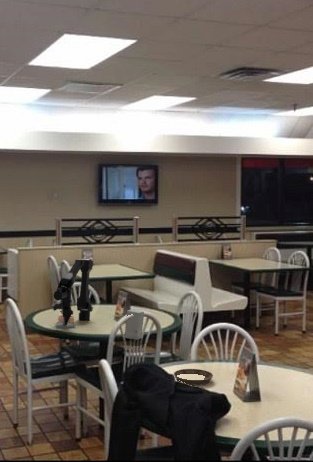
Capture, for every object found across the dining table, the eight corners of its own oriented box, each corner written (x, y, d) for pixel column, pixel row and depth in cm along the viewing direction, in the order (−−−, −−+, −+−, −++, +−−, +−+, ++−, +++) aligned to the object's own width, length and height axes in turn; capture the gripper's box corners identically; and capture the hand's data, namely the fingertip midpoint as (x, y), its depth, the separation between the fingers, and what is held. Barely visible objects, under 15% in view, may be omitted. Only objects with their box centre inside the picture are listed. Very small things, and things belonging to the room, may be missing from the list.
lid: (73, 324, 386) (73, 315, 386) (76, 328, 375) (76, 319, 375) (54, 324, 383) (54, 315, 382) (56, 328, 372) (57, 319, 371)
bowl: (72, 321, 397) (72, 315, 397) (74, 324, 388) (74, 318, 387) (57, 321, 394) (57, 315, 394) (59, 324, 385) (59, 318, 385)
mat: (73, 324, 386) (73, 324, 386) (76, 329, 375) (76, 328, 375) (54, 325, 383) (54, 324, 383) (56, 329, 371) (56, 328, 371)
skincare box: (124, 338, 358) (125, 310, 357) (130, 335, 364) (131, 308, 363) (137, 340, 354) (138, 312, 353) (143, 337, 360) (144, 310, 359)
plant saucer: (176, 386, 273) (176, 379, 272) (171, 374, 290) (171, 368, 290) (216, 386, 275) (216, 380, 274) (208, 375, 292) (208, 368, 292)
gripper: (51, 295, 384) (50, 320, 385) (54, 300, 367) (53, 327, 367) (69, 295, 388) (68, 320, 388) (73, 300, 370) (72, 326, 371)
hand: (65, 323), depth 379 cm, fingers closed on lid, 3 cm apart
